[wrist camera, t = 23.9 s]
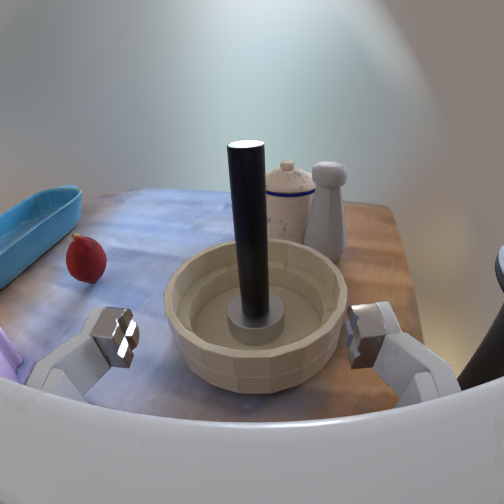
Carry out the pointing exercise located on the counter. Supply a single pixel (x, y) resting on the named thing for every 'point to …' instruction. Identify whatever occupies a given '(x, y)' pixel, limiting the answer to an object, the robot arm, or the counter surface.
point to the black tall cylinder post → (252, 249)
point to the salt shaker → (327, 211)
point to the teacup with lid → (288, 202)
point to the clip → (8, 358)
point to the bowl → (261, 356)
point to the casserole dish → (36, 228)
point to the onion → (85, 259)
